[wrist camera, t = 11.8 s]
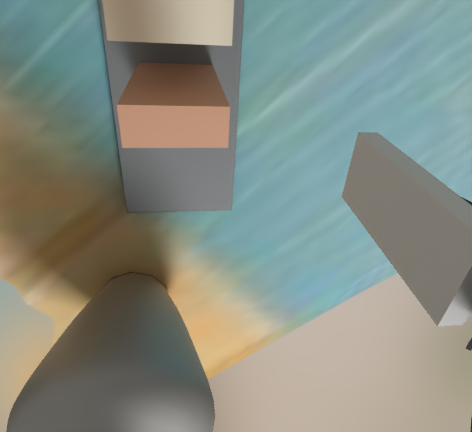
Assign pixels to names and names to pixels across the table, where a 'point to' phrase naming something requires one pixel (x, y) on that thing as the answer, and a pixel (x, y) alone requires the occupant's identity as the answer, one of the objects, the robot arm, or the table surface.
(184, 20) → the domino
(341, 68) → the table surface
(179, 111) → the domino
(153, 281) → the vase
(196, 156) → the domino board
